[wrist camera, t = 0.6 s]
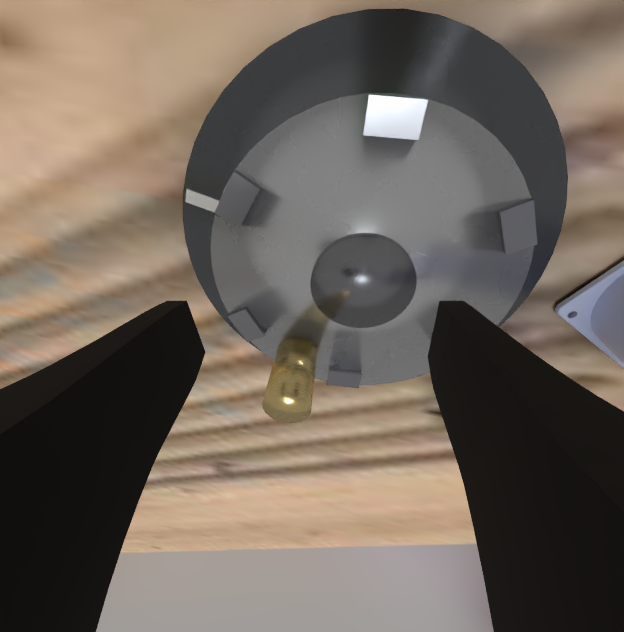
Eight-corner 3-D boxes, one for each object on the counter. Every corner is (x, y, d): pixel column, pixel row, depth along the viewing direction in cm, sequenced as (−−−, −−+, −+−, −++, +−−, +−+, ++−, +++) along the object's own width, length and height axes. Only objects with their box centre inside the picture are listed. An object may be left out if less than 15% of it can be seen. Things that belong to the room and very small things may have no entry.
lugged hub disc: (577, 230, 15) (699, 303, 10) (374, 386, 23) (382, 473, 18) (330, -8, 11) (315, -97, 6) (188, 282, 19) (128, 355, 14)
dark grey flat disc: (639, 209, 16) (661, 217, 14) (376, 401, 26) (377, 414, 25) (315, -147, 10) (311, -175, 9) (149, 278, 21) (139, 288, 20)
